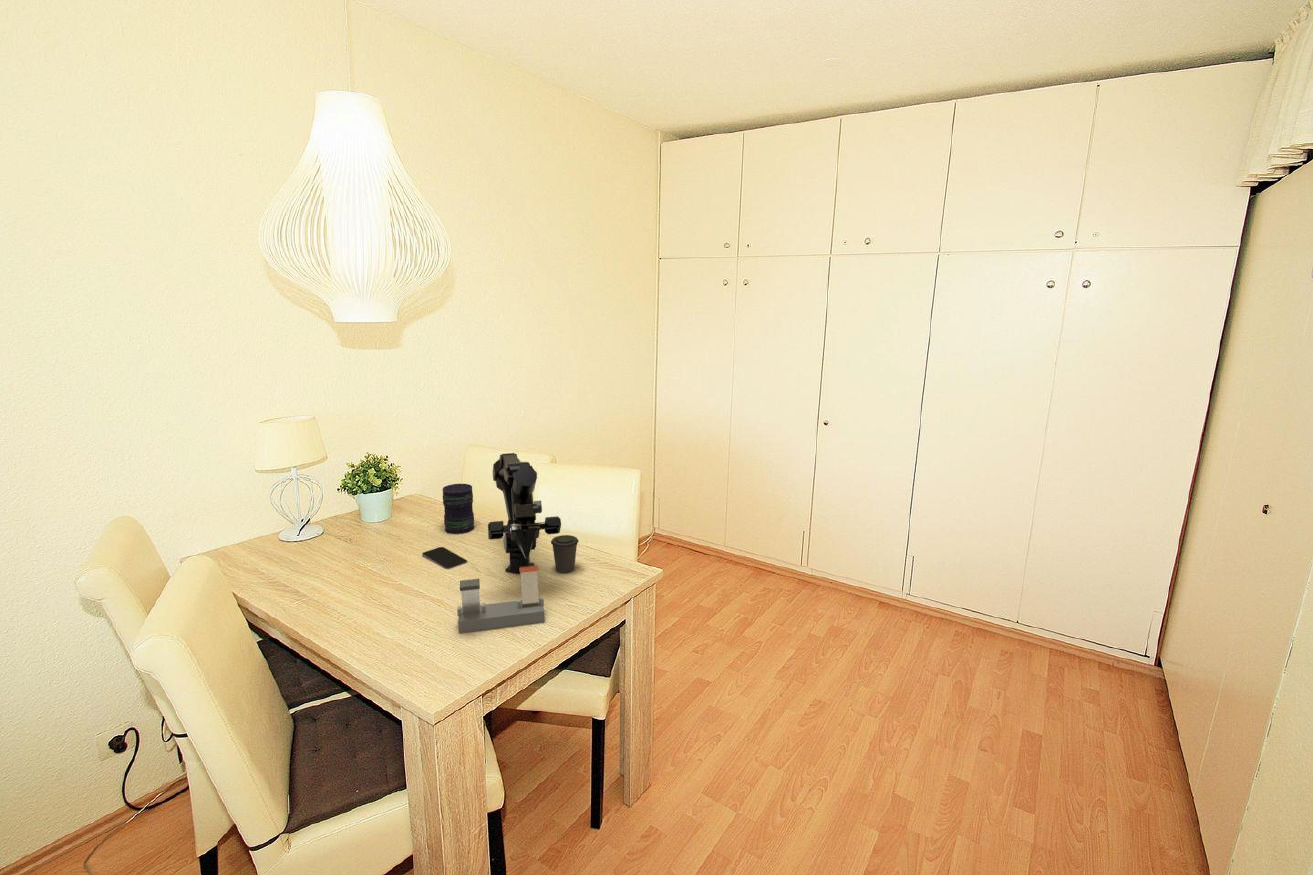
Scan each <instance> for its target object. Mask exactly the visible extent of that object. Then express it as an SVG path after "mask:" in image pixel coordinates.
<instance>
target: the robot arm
mask: <svg viewBox="0 0 1313 875" xmlns="http://www.w3.org/2000/svg"><path fill="white" fill-rule="evenodd" d="M537 479H538V472H537V471H536V470H535V469H534V467H533V465H531V464H530V462H528V461H521V460H520V459H519V457H518V453H515V452H512V453H502V454H500V455H499V458H498V459H497V460H496V461H495V462H494V463H493V465H492V480H493V481H495V482H494V483H495V486H496V488H497V489H498V490H500V491H501V492H502V493H503V499H504V503H505V509H506V514H507V519H508V521H507V524H505V525H504V520H496V521H490V522H488V523H487V534H488V540H489V541H490V540H491V541H492V540H501V539H502V538H503V541H502V542H503V549H504V551H505V554H509V565H508V566H507V567H506V568H505V570H504V571H505V572H508V573H515V574H521V573H520V569H519V567H523V566H532V565H535V563H533V562H531V561H530V560H531V559H530V555H531V551H532V550H534V551H535V550H536V548H537V539H538V538H540V530H544V533H545V534H546V535H558V534H560V532H561V528H562V521H561V517H559V516H548V517H547V516H545V518H544V521H540V522H536V521H537V514H542V513H543V506H542V500H534V495H533V493H534V490H535V489H536V487H535V486H536V484H537Z"/></svg>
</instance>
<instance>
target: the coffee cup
mask: <svg viewBox="0 0 1313 875" xmlns="http://www.w3.org/2000/svg"><path fill="white" fill-rule="evenodd" d="M578 543H579V539H578V538H577V536H574V535H571V534H570V535H569V534H563V535H561V534H560V535H557V536H554V537H553V538H552V539H551V541H550V544H551V545H552V551H553V552H552V553H553V559H554V566H555V571H556V572H557V573H559V574H569V573H573V572H574V571H575V565H576V556H577V555H576V554H577V546H578ZM573 570H574V571H573Z"/></svg>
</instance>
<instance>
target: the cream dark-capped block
mask: <svg viewBox="0 0 1313 875" xmlns="http://www.w3.org/2000/svg"><path fill="white" fill-rule="evenodd" d="M480 582H481V581H480V578H474V579H472V578H471V579H463V580H459V592H460V595H461V607H462V610H463V614H465V613H473V612H480V605H481V600H480V597H481V596H480V588H481V587H480Z"/></svg>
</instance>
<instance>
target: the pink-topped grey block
mask: <svg viewBox="0 0 1313 875" xmlns="http://www.w3.org/2000/svg"><path fill="white" fill-rule="evenodd" d="M519 569H520V573H519V574H520V587H521V591H520V592H521V600H522V604H528V603H536V602H539V598H540V595H539V579H538V571H539V565H538V564H534V565H532V566H523V567H519Z"/></svg>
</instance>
